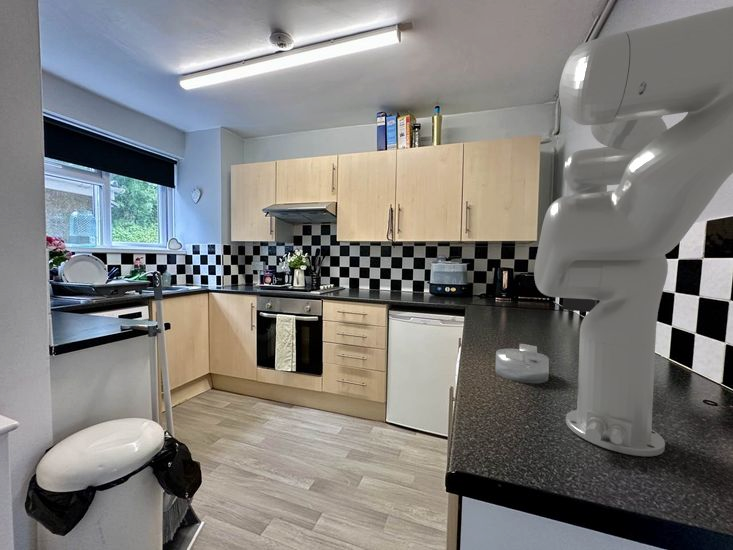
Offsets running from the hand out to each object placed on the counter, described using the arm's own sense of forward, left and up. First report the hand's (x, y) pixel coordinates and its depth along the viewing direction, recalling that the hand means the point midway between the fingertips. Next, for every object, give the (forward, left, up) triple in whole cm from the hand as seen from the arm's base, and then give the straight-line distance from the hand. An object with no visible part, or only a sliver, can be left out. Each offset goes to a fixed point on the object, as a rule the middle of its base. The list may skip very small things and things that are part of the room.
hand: (582, 296), depth 70 cm
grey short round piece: (-2, +12, -21) cm, 24 cm away
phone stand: (0, 0, -3) cm, 3 cm away
